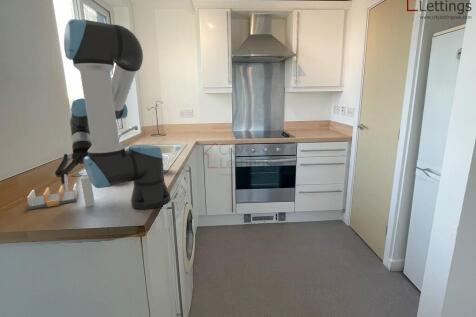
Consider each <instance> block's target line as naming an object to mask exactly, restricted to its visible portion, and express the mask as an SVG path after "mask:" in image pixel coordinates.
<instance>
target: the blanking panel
mask: <svg viewBox="0 0 476 317" xmlns="http://www.w3.org/2000/svg"><path fill="white" fill-rule="evenodd" d="M80 182H81V188H82V193H83V200H84V205H85V207H92V206H95V197H94V196H95V195H94V190H93V185H92V183H91V181H90V179H89V177H88V175H87V173H86V174H82V175H81V176H80Z"/></svg>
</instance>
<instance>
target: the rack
mask: <svg viewBox="0 0 476 317" xmlns="http://www.w3.org/2000/svg"><path fill="white" fill-rule="evenodd" d="M50 191H51V190H50V187H46V189H45V191H44V192H43V194H42V195H39V196H36V193H35V189H32V190H31V191H30V192H29V194H28V196H27V197H26V199H27V203H28V207H27V208H28V210H34V209H40V208H45V207H47V208H48V207H53V206H54V207H55V206H59V205H63V204H67V203H74V202H78V196H79V190H78V185H77V183H76V182H75V183H74V184H73V189H72V190H69V192H66V191H65V188H64V184H62V185H60V187H59V190H58V192H57V193H52V194H51V192H50Z"/></svg>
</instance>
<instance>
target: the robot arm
mask: <svg viewBox="0 0 476 317" xmlns="http://www.w3.org/2000/svg"><path fill="white" fill-rule="evenodd" d="M63 45H64V47H63V48H64V53H65V57H66V59H68V60H70V61H71V60H72V64H73V67H74V68H75V69H77V70H78V71H79V73H80V80H81V86H82V91H83V92H82V93H83V97H82V98H81V97H80V98H79V97H78V98H75V99H73V101H72V103H71V108H70V112H71V113H70V114H71V115H70V116H71V117H70V119H69V127H70V132H71V136H70V138H71V145H72V148H71V149H72V154H67V153H65V154H63V159H62V161H61V162H60V164H59V166H58V168H57V169H56V170H55V176H56V178H60V182H61V184H62V185H64V191H65V192H69V191H70V190H69V179H68V178H69V177H68V175H69V174H70V173H71V172H72V170H74V169H75V167H77V166H78V165H83V166H84V169H85V172H86V174H87V175H88V177H89V179H90V181H91V183H92V187H95V188H96V189H105V188H110V187H111V188H112V187H113V186H118V185H123V184H127V183H130V182H133V188H132V193H131V198H130V206H131V207H132V208H134V209H137V210H150V209H151V210H152V209H156V208H160V207H162V206H165V205H167V204H168V203H170V202H171V200H172V199H171V198H172V197H171V193H170V191H169V189H168V186H167V184H166V182H165V174H164V159H163V160H162V158H163V152H162V149H161V148H160V147H159V146H157V145H153V144H151V145H150V144H133V145H130V146H128V150H126V149H125V146H124V145H123V144H121V143H120V139H119V138H120V137H119V132H118V125H117V124H118V123H117V120H121V119H126V118H127V117H128V111H129V110H128V107H127V104H126V102H127V99H128V95H129V93H130V90H131V87H132V84H133V81H134V78H135V76H136V72H138V71H139V70H140V69H141V68H142V65H143V60H144V53H143V49H142V44H141V42H140V40H139V39H138V38H137V36H136V35H135V34H134V33H133V32H132V31H131V30H130V29H128V28H127V27H125V26H122V25H120V24H114V23H105V22H101V21H95V20H89V19H78V18H77V19H76V18H70V19H68V20H67V22H66V23H65V26H64V34H63ZM111 71H113V72H112V75H111ZM161 152H162V153H161ZM71 159H72V161H71V162H70V160H71ZM69 162H70V163H69ZM68 163H69V164H68Z"/></svg>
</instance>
